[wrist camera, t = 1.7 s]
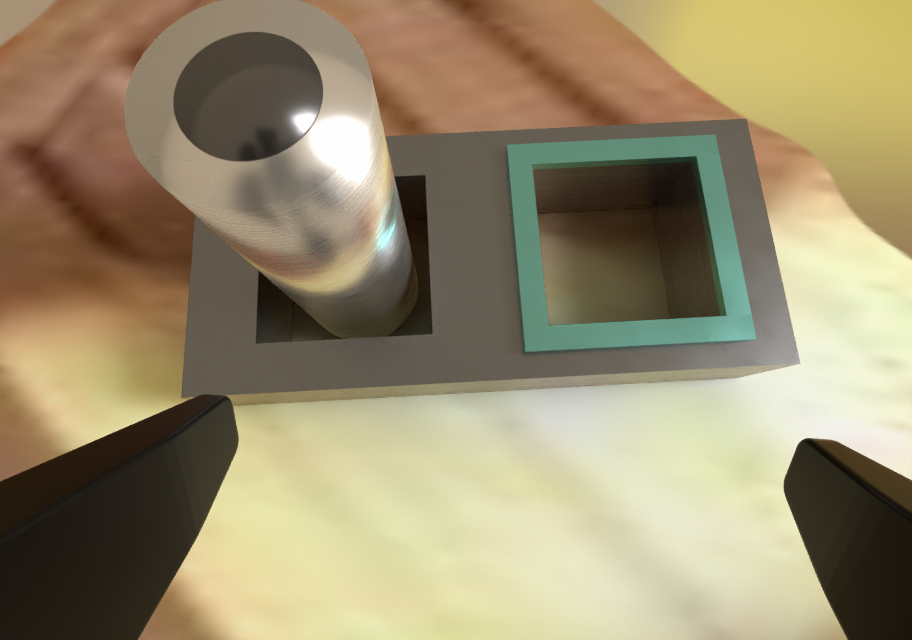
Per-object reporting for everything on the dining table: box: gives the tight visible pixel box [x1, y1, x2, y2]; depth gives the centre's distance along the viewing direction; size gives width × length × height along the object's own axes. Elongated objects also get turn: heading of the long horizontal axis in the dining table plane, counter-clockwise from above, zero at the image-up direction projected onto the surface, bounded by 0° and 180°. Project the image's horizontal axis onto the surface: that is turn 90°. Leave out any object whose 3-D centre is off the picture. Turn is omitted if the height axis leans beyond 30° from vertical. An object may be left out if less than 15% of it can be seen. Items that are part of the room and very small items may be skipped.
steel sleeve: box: [125, 0, 418, 339], centre depth 16 cm, size 5×5×13 cm
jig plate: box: [181, 119, 800, 406], centre depth 21 cm, size 22×10×4 cm, turn 93°
